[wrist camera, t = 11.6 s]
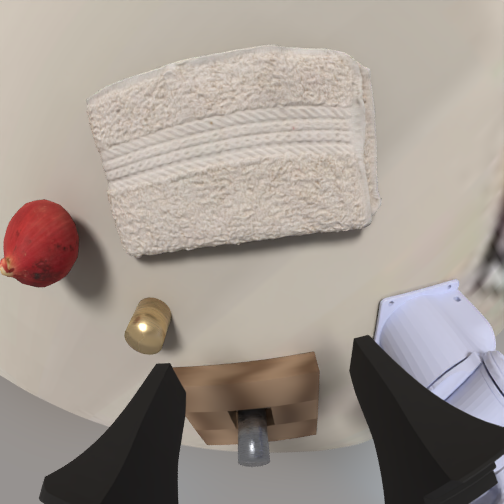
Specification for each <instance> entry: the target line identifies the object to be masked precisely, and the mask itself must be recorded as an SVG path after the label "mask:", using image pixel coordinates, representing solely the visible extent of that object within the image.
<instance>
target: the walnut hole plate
mask: <svg viewBox="0 0 504 504" xmlns="http://www.w3.org/2000/svg"><path fill="white" fill-rule="evenodd" d="M173 370H174V371H175V373H176V375H177V377H178V379H179V381H180V382H181V384H182V386H183V388H184V389H185V391H186V414H185V416H186V417H187V419H188V420H189V422H190V423H191V424H192V426H193V427H194V428H195V430H196V431H197V432H198V434H199V435H200V436H201V438H202V439H203V440H204V442H205V443H206V444H207V445H230V444H238V412H236V410H247V409H257V408H266V407H271V408H268V409H266V418H267V431H268V442H269V441H278V440H285V439H292V438H298V437H304V436H310V435H315V434H316V430H317V416H318V398H319V374H320V371H319V367H318V364H317V360H316V357H315V353H314V352H309V353H304V354H298V355H292V356H286V357H280V358H273V359H266V360H258V361H250V362H241V363H232V364H221V365H209V366H195V367H174V368H173Z"/></svg>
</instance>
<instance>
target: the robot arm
mask: <svg viewBox="0 0 504 504" xmlns="http://www.w3.org/2000/svg"><path fill="white" fill-rule="evenodd" d="M458 286H459V281H458V280H457V279H454V280H451V281H447V282H444V283H441V284H437V285H434V286H430V287H426V288H423V289H419V290H415V291H412V292H408V293H404V294H400V295H396V296H392V297H388V298H384V299H383V300H381V302H380V305H379V312H378V319H377V325H376V331H375V336H374V340H373V339H372V338H371V337H370V336H369V335H366V336H362V337H358V338H354V342H353V350H352V357H351V364H350V370H349V371H350V375H351V379H352V383H353V386H354V390H355V393H356V396H357V398H358V401H359V403H360V406H361V409H362V411H363V414H364V416H365V419H366V421H367V424H368V426H369V429H370V432H371V434H372V437H373V440H374V444H375V448H376V452H377V457H378V461H379V466H380V471H381V477H382V483H383V490H384V499H385V504H504V355H503V354H502V353H500V352H499V351H495V348H496V341H495V336H494V332H493V329H492V327H491V325H490V323H489V322H488V321H487V319H486V318H485V317H484V316H483V315H482V314H481V313H480V312H479V311H478V310H477V309H476V307H475V306H474V305H473V304H472V303H471V302H470V301H469V300H468V299H467V298H466V297H465V296H464V295H463V294H462V293H461V292H460V291H459V290H458ZM390 302H391V303H390ZM185 414H186V391H185V389H184V388H183V386H182V384H181V382H180V381H179V379H178V377H177V375H176V373H175V371H174V370H173V368H172V366H171V364H170V363H165V364H156V365H155V367H154V368H153V369H152V371H151V372H150V374H149V375H148V377H147V378H146V380H145V381H144V382H143V384H142V385H141V387H140V388H139V390H138V391H137V393H136V394H135V395H134V397H133V398H132V400H131V401H130V402H129V404H128V405H127V406H126V408H125V409H124V410H123V412H122V413H121V414H120V415H119V417H118V418H117V419H116V420H115V422H114V423H113V424H112V425H111V426H110V427H109V429H108V430H107V431H106V432H105V433H104V434H103V435H102V436H101V437H100V438H99V439H98V440H97V441H96V442H95V443H94V444H92V445H91V446H90V447H89V448H88V449H87V450H86V451H84V453H82V454H81V455H80V456H78V457H77V458H76V459H74V460H73V461H71V462H70V463H68V464H67V465H65V466H64V467H62V468H61V469H59V470H57V471H55V472H53V473H51V474H50V475H48V476H46V477H45V479H44V482H43V485H42V489H41V493H40V496H39V499H40V501H41V502H43V503H44V504H178V481H177V480H178V459H179V452H180V445H181V439H182V433H183V427H184V421H185Z"/></svg>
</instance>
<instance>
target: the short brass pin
mask: <svg viewBox="0 0 504 504" xmlns="http://www.w3.org/2000/svg"><path fill="white" fill-rule="evenodd" d="M170 320H171V311H170V309H169V307H168V306H167V305H166V304H165V303H164V302H162V301H161V300H159V299H156V298H145V299H143V300H141V301H140V302H139V304H138V306H137V308H136V310H135V312H134V314H133V316H132V318H131V320H130V322H129V325H128V327H127V329H126V331H125V340H126V342H127V343H128V344H129V346H130V347H132V348H133V349H134V350H136V351H138V352H140V353H143V354H149V355H151V354H156V353H158V352H159V351H160V350H161V349H162V346H163V342H164V339H165V336H166V333H167V329H168V326H169V323H170Z"/></svg>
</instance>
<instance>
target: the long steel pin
mask: <svg viewBox="0 0 504 504" xmlns="http://www.w3.org/2000/svg"><path fill="white" fill-rule="evenodd" d="M269 462H270V456H269V443H268V431H267V418H266V408H257V409H247V410H238V463H239V464H240V465H244V466H251V467H253V466H262V465H266V464H268V463H269Z"/></svg>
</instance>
